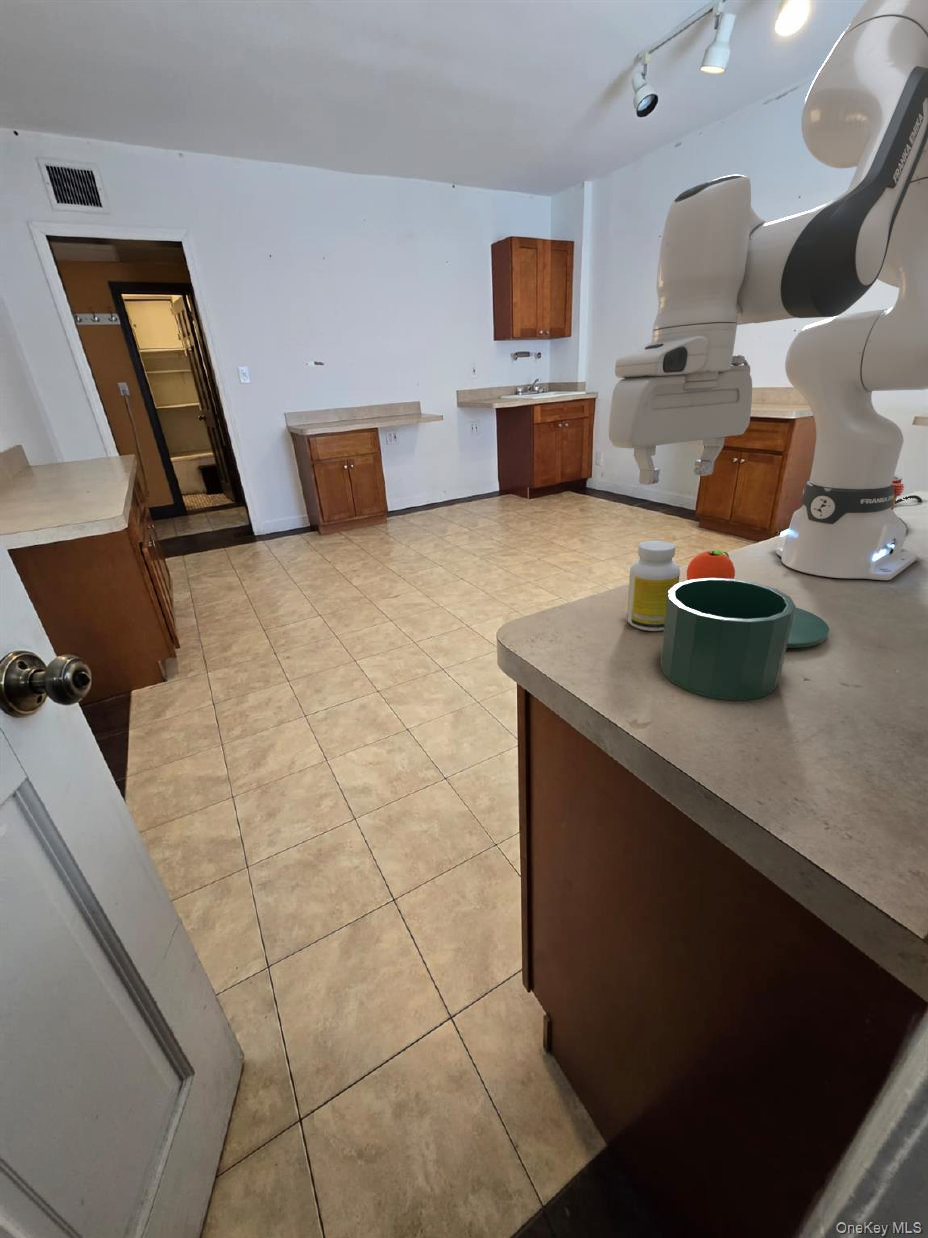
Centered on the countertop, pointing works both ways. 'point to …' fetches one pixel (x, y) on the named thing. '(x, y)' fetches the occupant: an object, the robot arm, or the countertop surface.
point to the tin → (725, 637)
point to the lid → (806, 629)
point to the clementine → (711, 566)
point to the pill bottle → (651, 584)
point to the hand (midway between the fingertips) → (676, 479)
